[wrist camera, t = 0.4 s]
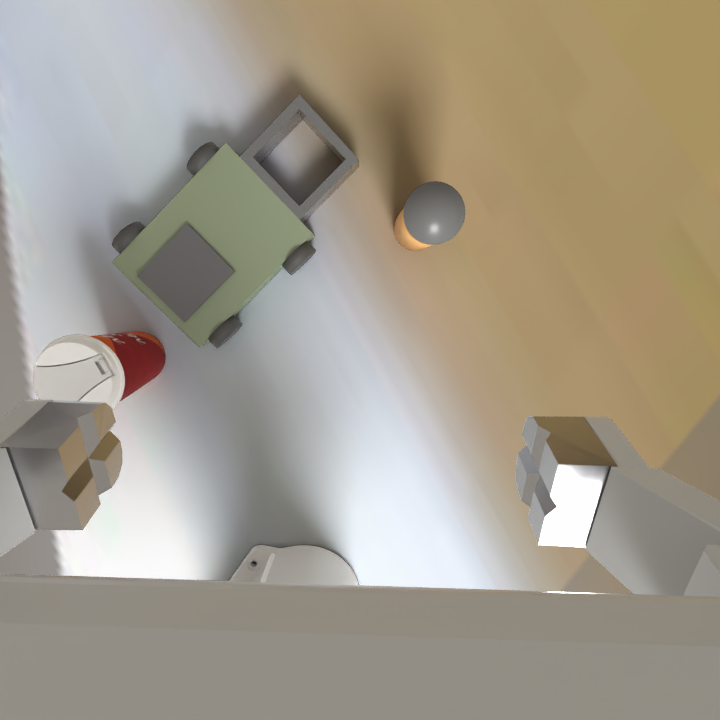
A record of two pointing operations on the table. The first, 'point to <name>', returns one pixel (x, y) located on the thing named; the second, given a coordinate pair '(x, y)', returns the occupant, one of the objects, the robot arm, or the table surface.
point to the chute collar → (278, 132)
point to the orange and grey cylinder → (430, 216)
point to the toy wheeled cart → (213, 246)
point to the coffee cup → (97, 367)
